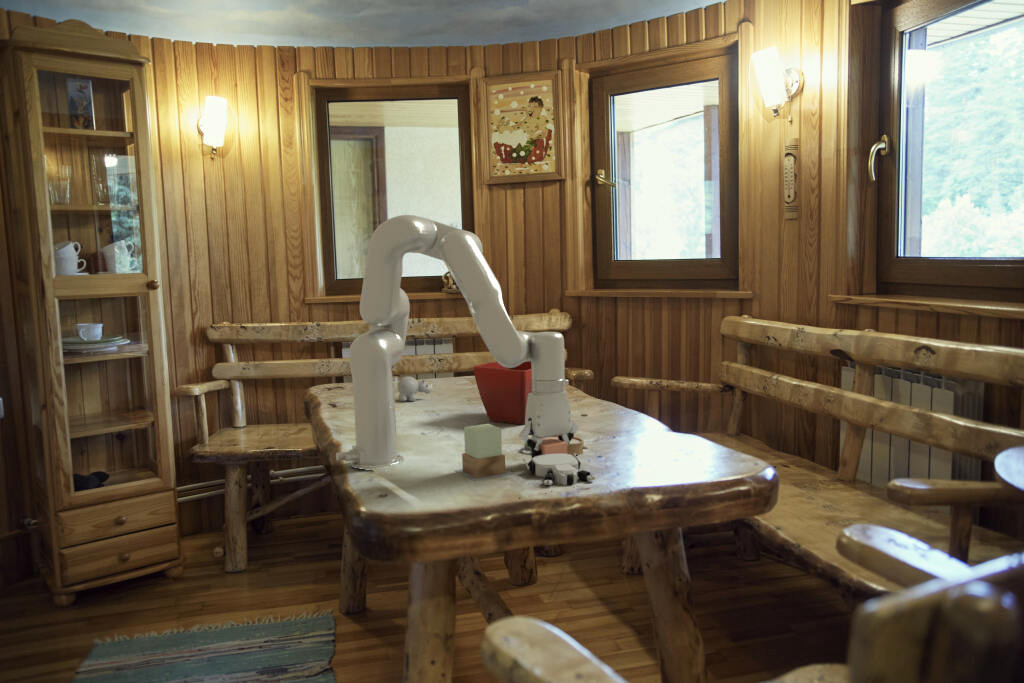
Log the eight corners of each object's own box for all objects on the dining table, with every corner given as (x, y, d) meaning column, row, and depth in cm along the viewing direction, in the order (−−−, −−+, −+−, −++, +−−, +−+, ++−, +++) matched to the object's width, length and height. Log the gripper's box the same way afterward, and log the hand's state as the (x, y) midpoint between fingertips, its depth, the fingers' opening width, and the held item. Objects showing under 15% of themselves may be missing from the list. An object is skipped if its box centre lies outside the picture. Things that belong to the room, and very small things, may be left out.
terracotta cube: (545, 472, 177) (544, 446, 176) (531, 466, 182) (531, 441, 181) (567, 468, 180) (567, 442, 179) (554, 463, 185) (553, 437, 184)
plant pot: (524, 428, 223) (523, 369, 221) (473, 421, 235) (471, 365, 233) (562, 417, 238) (561, 362, 236) (511, 411, 250) (510, 358, 248)
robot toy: (598, 491, 165) (573, 468, 179) (599, 470, 164) (573, 449, 178) (543, 497, 161) (521, 474, 175) (543, 476, 160) (521, 454, 175)
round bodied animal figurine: (433, 401, 271) (432, 376, 270) (398, 403, 269) (397, 378, 268) (431, 397, 278) (430, 373, 277) (397, 399, 276) (396, 375, 275)
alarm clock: (592, 444, 191) (533, 438, 187) (588, 464, 191) (530, 458, 187) (575, 434, 202) (520, 429, 197) (572, 453, 202) (517, 448, 198)
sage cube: (477, 459, 170) (476, 431, 169) (465, 453, 175) (464, 427, 174) (501, 455, 173) (501, 428, 172) (488, 449, 178) (488, 423, 177)
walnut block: (477, 478, 170) (476, 459, 169) (462, 471, 176) (462, 453, 175) (505, 473, 173) (505, 455, 173) (490, 466, 179) (489, 449, 179)
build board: (474, 485, 168) (474, 480, 168) (453, 475, 176) (453, 470, 176) (514, 478, 173) (514, 473, 172) (493, 468, 181) (492, 464, 181)
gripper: (570, 380, 186) (571, 455, 188) (507, 388, 178) (509, 466, 179) (589, 384, 180) (590, 462, 182) (524, 392, 171) (526, 473, 173)
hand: (549, 463), depth 180 cm, fingers closed on terracotta cube, 6 cm apart
